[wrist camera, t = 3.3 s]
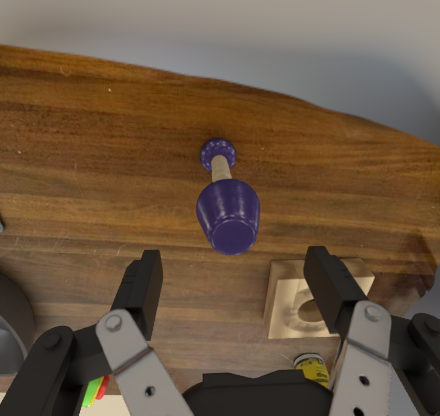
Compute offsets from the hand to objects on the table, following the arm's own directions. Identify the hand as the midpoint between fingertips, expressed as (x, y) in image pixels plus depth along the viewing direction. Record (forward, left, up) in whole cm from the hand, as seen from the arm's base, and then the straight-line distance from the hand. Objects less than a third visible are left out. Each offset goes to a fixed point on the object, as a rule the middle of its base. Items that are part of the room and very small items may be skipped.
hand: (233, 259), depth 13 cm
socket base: (-15, +24, -18) cm, 34 cm away
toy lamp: (0, 0, -19) cm, 19 cm away
